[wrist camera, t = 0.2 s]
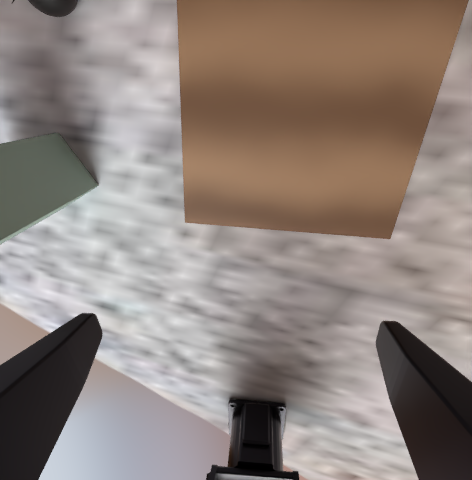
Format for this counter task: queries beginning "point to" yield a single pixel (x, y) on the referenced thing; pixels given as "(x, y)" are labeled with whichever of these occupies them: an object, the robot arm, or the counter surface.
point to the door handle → (54, 6)
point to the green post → (38, 181)
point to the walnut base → (307, 108)
